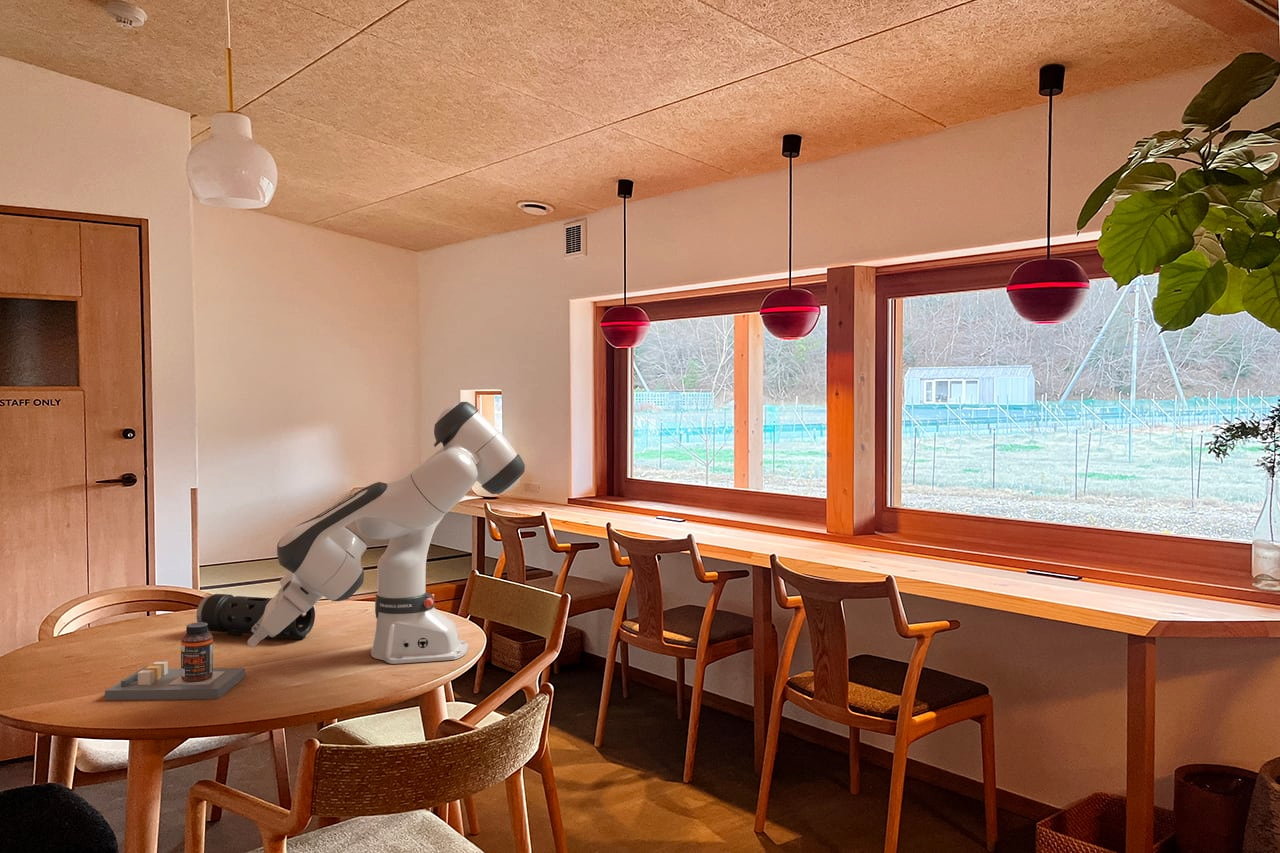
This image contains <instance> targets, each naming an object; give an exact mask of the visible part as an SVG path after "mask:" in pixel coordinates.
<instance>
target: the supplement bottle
mask: <svg viewBox="0 0 1280 853" xmlns="http://www.w3.org/2000/svg"><path fill="white" fill-rule="evenodd" d="M185 628H186V630H185V632H186V633H185V634H184V635H182V637H181V640H180V669H181V678H182V680H184V681H187V682H197V681H203V680H206V679H208V678H210V677H212V675H213V668H214V662H213V661H214V657H213V656H214V650H213V649H214V647H213V645H214V644H213V643H214V639H213V635H212V632H210V631H208V624H207V623H204V622H197V621H196V622H192V623H191V622H190V623H188V624H186V627H185Z"/></svg>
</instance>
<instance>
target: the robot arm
mask: <svg viewBox="0 0 1280 853" xmlns="http://www.w3.org/2000/svg"><path fill="white" fill-rule="evenodd" d="M433 435H434V439H435V442H434V444H433V445H434V448H436V447H437V446H438V445H439V444H442V446H441V447H440V448H439V449H438V450H437V451H436V452H434V453H433V454H432V455H431V456H430V457H428V458H427V459H426V460H425V461H424V462H422V463H421V464H420V465H419V466H417V467H416V468H415V469H413V470H412V471H409V472H408V473H406V474H405V475H402V476H401V477H399V478H398V479H396V480H394V481H392V482H388V483H386V482H383V481H377V482H374V483H371V484H369V485H367V486H366V487H363V488H362V489H360V490H358V491H356V492H355V493H352V494H351V495H349V496H348V497H346V498H343V500H341V501H339V502H338V503H336V504H334V505H333V506H332V507H330V508H328V509H326V510H324V511H323V512H321V513H320V514H318V515H316V516H315V517H313V518H310V519H308V520H306V521H304V522H301V523H300V524H297V525H296V526H294V527H292V528H291V529H290V530H288V531H287V532H286V533H285V534H284V535H283V536H282V537H281V539H279V540H278V542H277V546H276V548H277V549H276V553H277V555H276V556H277V560H278V563H279V565H280V566H281V567H282V568H284V569H286V570H287V573H286V574H285V575H284V576H283V577H282V578H281V579H279V583H280V586H281V587H280V588H279V589H278V590H277V591H278V592H277V593H276V594H275V595H274V596H273V597H271V598H272V599H271V600H270V601H269V602H268V604H267V605H266V608H265V611H264V614H263V615H262V617H261V618H260V619H259V621H258V622H257V623H256V624H255V625H254V626H253V627H252V630H251V631H252V632H253V633H254V634H251V636H250V637H249V638H248V639H247V645H249V646H250V647H252V648H255V647H256V645H258V644H259V643H260V642H261V641H262V640H264V639H265V638H267V637H269V636H270V637H269V638H271V637H274V636H276V635H277V634H279V633H280V632H281V631H282V630H283V629H285V628H286V627H287V626H288V625H289V624H290V623H291V622H293V621H294V620H295V619H296V618H297V617H298V616H299V615H300V614H301V613H302V611H303V612H304V613H306V612H307V611H308V610H309V609H310V608H312V607H313V606H314V605H315V606H316V604H317V603H318V602H319V600H321V599H322V598H323V597H324V598H325V599H327V600H329V601H331V602H343V601H346V600H349V599H350V598H351V597H352V596H353V595H354V594H355V593H356V592H357V591H358V590H359V589H360V588H361V587H362V585H363V583H364V579H365V578H364V577H365V572H364V567H362V557H363V554H364V553H365V552H366V550H367V548H368V546H367V542H365V540H364V539H363V538H362V537H361V536H364V538H367V539H372V540H373V539H374V540H389V542H388V544H387V548H386V549H385V551H384V553H383V554H381V556H380V557H379V560H378V562H377V566H376V567H377V568H376V569H377V594H375V600H374V612H375V618H376V625H375V633H374V640H373V644H372V648H371V651H370V656H371V657H372V658H374V659H378V660H381V661H385V662H386V663H388V664H391V665H395V664H396V665H397V664H411V663H412V664H413V663H425V662H426V663H427V662H440V661H451V660H452V661H453V660H458V659H460V658H462V657H463V656H465V655H466V654H467V652H468V649H469V646H468V642H467V641H466V640H463V639H460V638H459V632H458V628H457V624H456V623H455V621H453V620H452V619H451V618H450V617H448V616H446V615H445V614H444V613H442V612H441V611H439V610H438V609H437V608H435V594H434V593H432V594H431V593H429V592H428V591H426V576H427V573H426V572H427V559H428V552H429V548H430V545H431V543H432V539H433V535H434V534H435V533H434V532H435V530H436V529H437V527H438V525H440V522H441V521H442V520H443V518H444V516H445V515H447V514H448V513H449V512H450V511H451V510H452V509H454V507H455V506H456V505H457V504H458V503H459V502H461V501H462V499H463V498H464V497H465V496H466V495H467V494H468V492H469V491H470V490H471V489H472V488H473V487H474V485H475V484H476V482H478V483H479V484H480V485H481V486H480V487H481V488H482V489H484V490H485V491H487V492H488V493H489V494H491V495H500V494H502V493H506V492H508V491H510V490H511V489H514V488H515V486H517V485H518V483H519V482H520V480H521V479H522V477H523V474H524V473H525V468H526V465H525V462H524V461H523V460H524V459H522V457H521V455H520V453H517V452H516V450H515V448H513V447H512V444H510V442H509V441H508V439H507V438H506V437H505V436H504V434H503V433H502V432H501V431H499V430H498V429H497V428H496V427H495V425H494V424H493V423H491V421H489V419H487V417H485V416H484V415H483V414H482V413H480V411H479V409H478V408H477V407H476V406H474V405H473V404H471V403H470V402H468V401H460V402H458V403H454V404H452V405H450V406H448V407H446V408H445V409H444V410H443V411H442V412H441V413H440V415H439V416H438V418H437V420H436V422H435V424H434V427H433ZM353 522H355V526H356V529H357V530H358V532H359V533H360V535H361V534H362V535H361V536H360V535H359V534H357V533H356V532H355V531H353V530H352V529H351V528H349V527H348V525H349V524H351V523H353ZM267 635H269V636H267Z"/></svg>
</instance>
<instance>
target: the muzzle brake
mask: <svg viewBox="0 0 1280 853" xmlns="http://www.w3.org/2000/svg"><path fill="white" fill-rule="evenodd" d="M272 598H273V597H259V596H244V595H243V596H242V595H236V596H234V595H232V594H229V593H228V594H227V593H215V594H212V595H206V596H205V597H203V598H202V599H201V601H200V602H199V604H198V606H197V609H196V615H195V616H196V617H195V618H196V623H197V622H204V623H207V624H208V630H207V631H208V632H209V633H213V632H215V633H226V635H227V636H232V637H240V636H242V635H246V634H248V635H253V634H254V633H253V632H252V631H251V630H252V627H253V626H254V625H255V624H256V623H257V622H258V621H259V619H260V618H261V617H262V615H263V614H264V611H265V608H266V605H267V604H268V602H269V601H270V600H271V599H272ZM315 610H316V608H315V609H314V606H313V607H312V608H310V609H309V610H308V611H307V612H306V615H305V616H303V615H302V613H301V614H300V615H299V616H298V617H297V618H296V619H295V620H294V621H293V622H291V623H290V624H289V625H288V626H287V627H286V628H285V629H283V630H282V631H281V632H280V633H279V634H277V635H276V636H274V637H270V636H269V635H267V636H266V637H269V638H271V639H272V638H273V639H274V638H275V639H285V640H286V639H289V640H304V639H305V638H306V637H307V635H308V634H309V633H310V632H311V630H312V629H313V627H314V626H313V624H314V620H315ZM302 612H303V611H302ZM299 625H302V626H301V627H299Z"/></svg>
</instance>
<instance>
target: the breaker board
mask: <svg viewBox="0 0 1280 853" xmlns="http://www.w3.org/2000/svg"><path fill="white" fill-rule="evenodd" d="M168 662H169V661H155V662H153V663H152V664H151V665H146V666H143V667H142V668H140V669H138V670H136V671H135V672H133V673H132V674H130V675H128V676H126V677H125V678H123V679H122V680H120V681H118V682H117V683H115V684H114V685H112V686H110V687H108V688H107V689H105V690H104V701H147V700H148V701H150V700H152V701H154V700H155V701H159V700H161V701H163V700H164V701H165V700H218V699H220V698H221V697H223V695H225V694H226V693H227V692H229V691H230V690H231V689H232V688H233V687H234V686H236V685H237V684H238V683H239V682H241V681H242V680H243V679H244V678H246V667H213V675H212V677H210V678H208V679H206V680H203V681H197V682H187V681H184V680H182V678H181V668H169V666H168V665H169V663H168Z"/></svg>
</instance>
